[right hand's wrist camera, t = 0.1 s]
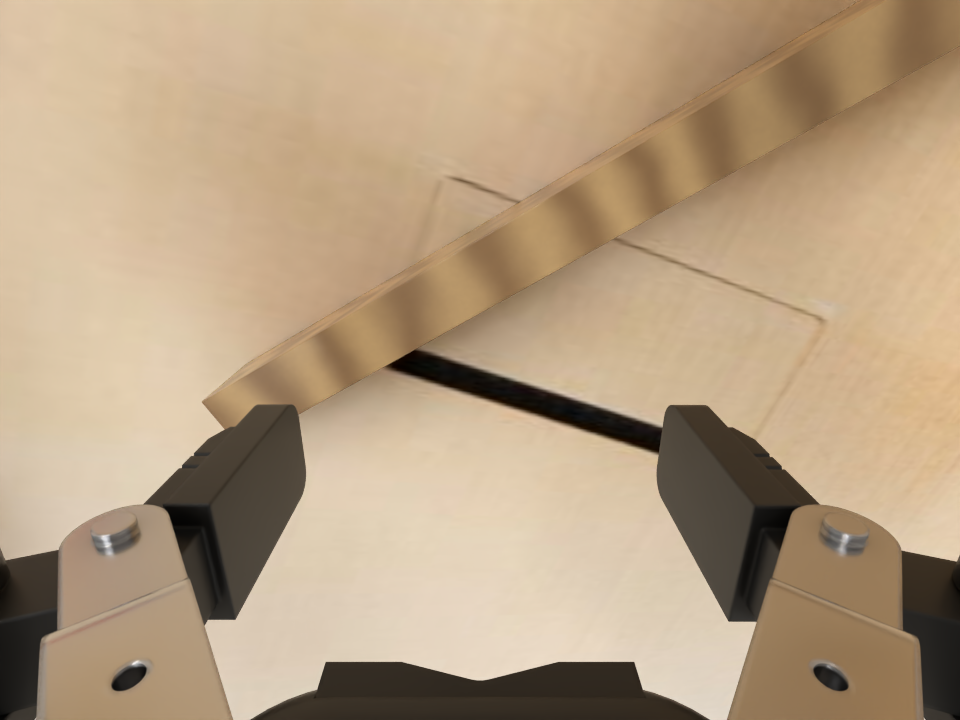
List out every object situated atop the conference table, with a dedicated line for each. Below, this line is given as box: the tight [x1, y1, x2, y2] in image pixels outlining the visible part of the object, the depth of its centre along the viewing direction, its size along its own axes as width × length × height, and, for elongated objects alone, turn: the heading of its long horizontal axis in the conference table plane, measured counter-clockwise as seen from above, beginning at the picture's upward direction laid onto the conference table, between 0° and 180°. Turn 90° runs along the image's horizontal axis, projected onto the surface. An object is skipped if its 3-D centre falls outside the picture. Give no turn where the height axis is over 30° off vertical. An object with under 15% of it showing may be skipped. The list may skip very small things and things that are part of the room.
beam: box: [202, 0, 960, 429], centre depth 33 cm, size 75×4×7 cm, turn 120°
